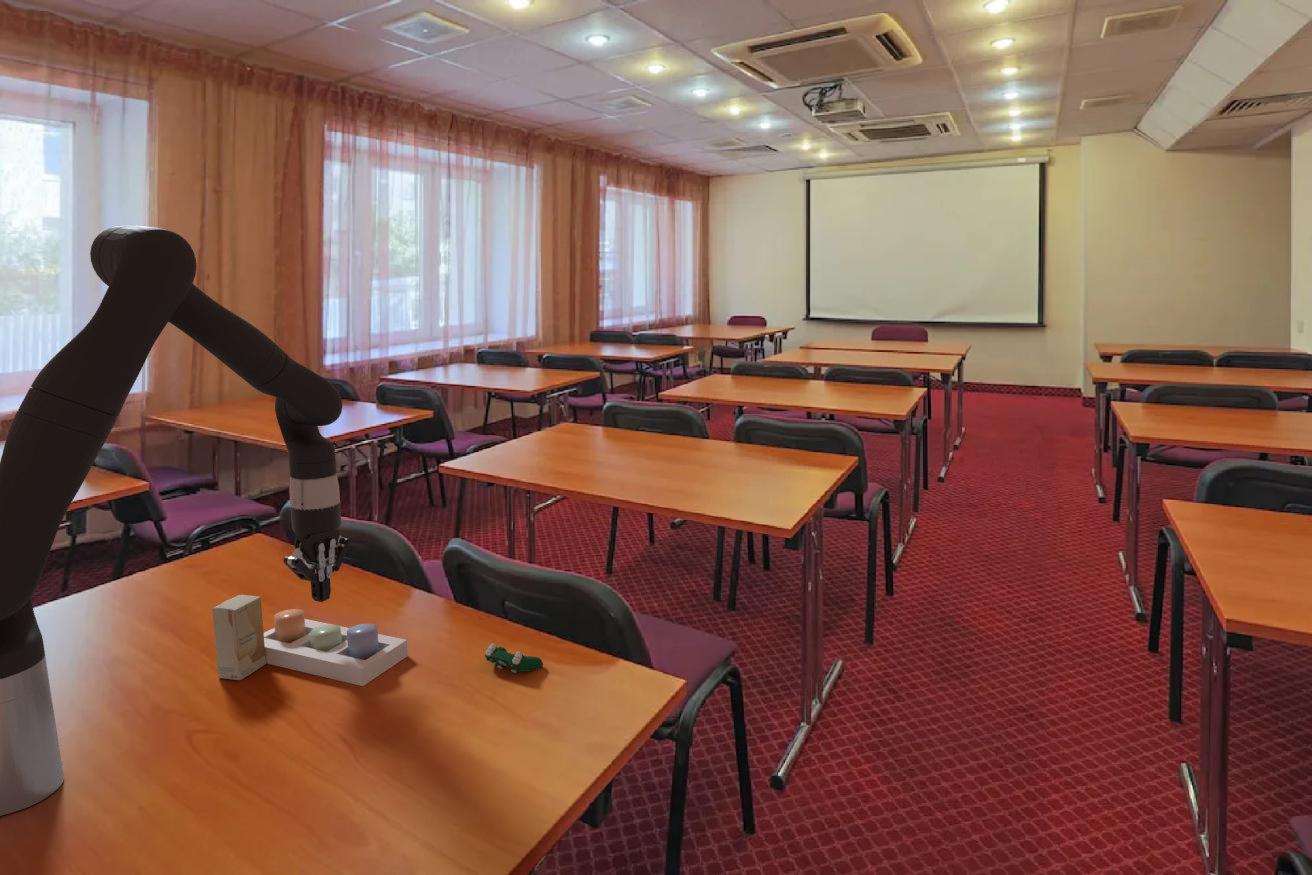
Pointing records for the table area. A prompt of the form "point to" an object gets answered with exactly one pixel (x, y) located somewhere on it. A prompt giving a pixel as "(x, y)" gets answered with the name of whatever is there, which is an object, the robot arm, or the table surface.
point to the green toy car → (512, 659)
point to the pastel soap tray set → (333, 656)
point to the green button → (325, 637)
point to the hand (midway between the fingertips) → (321, 599)
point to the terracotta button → (289, 625)
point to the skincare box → (239, 637)
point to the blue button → (362, 641)
